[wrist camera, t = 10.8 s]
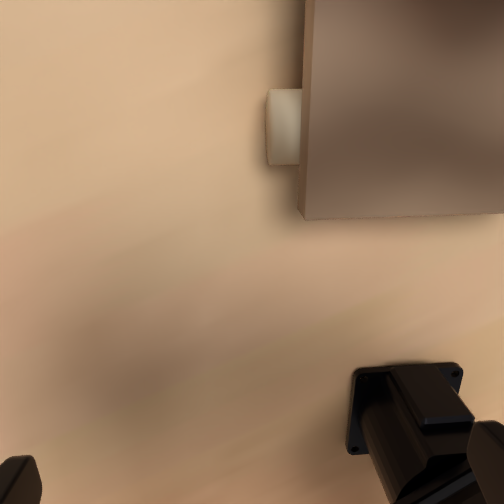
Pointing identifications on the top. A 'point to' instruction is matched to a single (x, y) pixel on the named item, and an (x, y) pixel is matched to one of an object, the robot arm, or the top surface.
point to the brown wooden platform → (395, 110)
